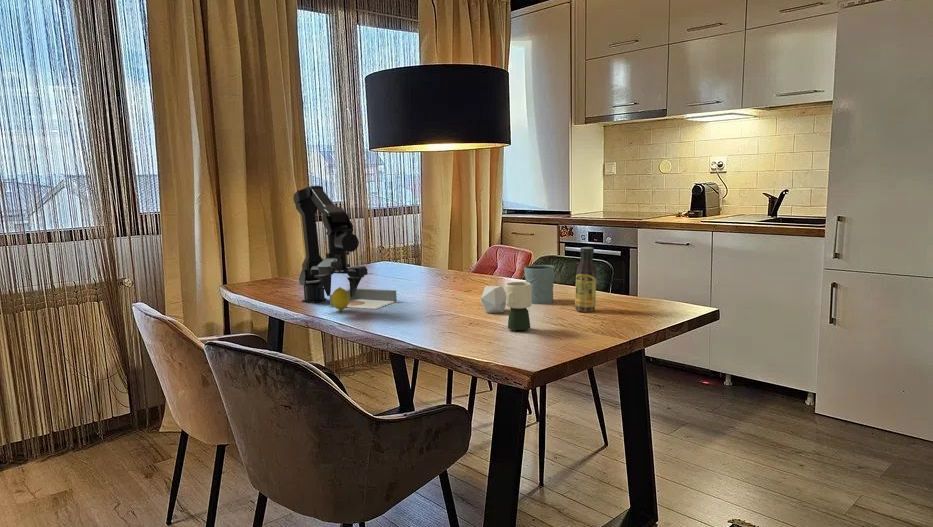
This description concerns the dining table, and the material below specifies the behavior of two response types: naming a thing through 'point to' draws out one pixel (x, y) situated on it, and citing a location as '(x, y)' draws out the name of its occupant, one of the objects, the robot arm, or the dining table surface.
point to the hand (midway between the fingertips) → (340, 296)
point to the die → (494, 299)
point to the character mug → (518, 304)
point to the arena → (370, 298)
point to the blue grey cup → (540, 283)
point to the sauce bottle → (585, 282)
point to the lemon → (340, 298)
